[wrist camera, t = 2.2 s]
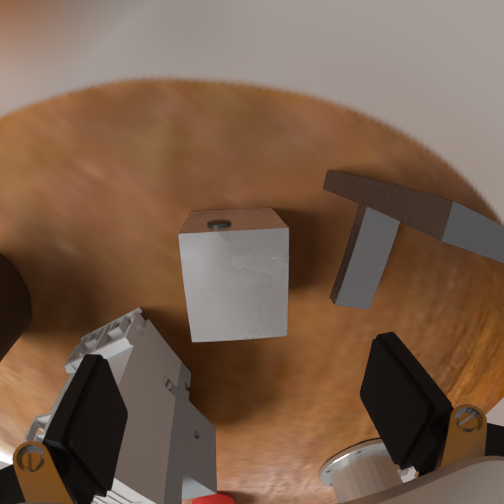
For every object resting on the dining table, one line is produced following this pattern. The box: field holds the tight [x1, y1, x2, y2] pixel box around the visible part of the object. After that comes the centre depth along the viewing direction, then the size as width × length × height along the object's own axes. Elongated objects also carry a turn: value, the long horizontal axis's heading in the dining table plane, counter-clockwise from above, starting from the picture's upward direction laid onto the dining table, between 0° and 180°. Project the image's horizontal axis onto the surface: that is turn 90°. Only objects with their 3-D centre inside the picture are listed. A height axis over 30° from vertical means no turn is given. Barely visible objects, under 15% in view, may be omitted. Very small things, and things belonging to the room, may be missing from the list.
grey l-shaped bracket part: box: [323, 170, 504, 309], centre depth 17 cm, size 7×9×14 cm
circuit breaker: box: [23, 307, 217, 504], centre depth 20 cm, size 8×14×15 cm, turn 27°
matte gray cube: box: [179, 208, 289, 342], centre depth 20 cm, size 7×6×6 cm
